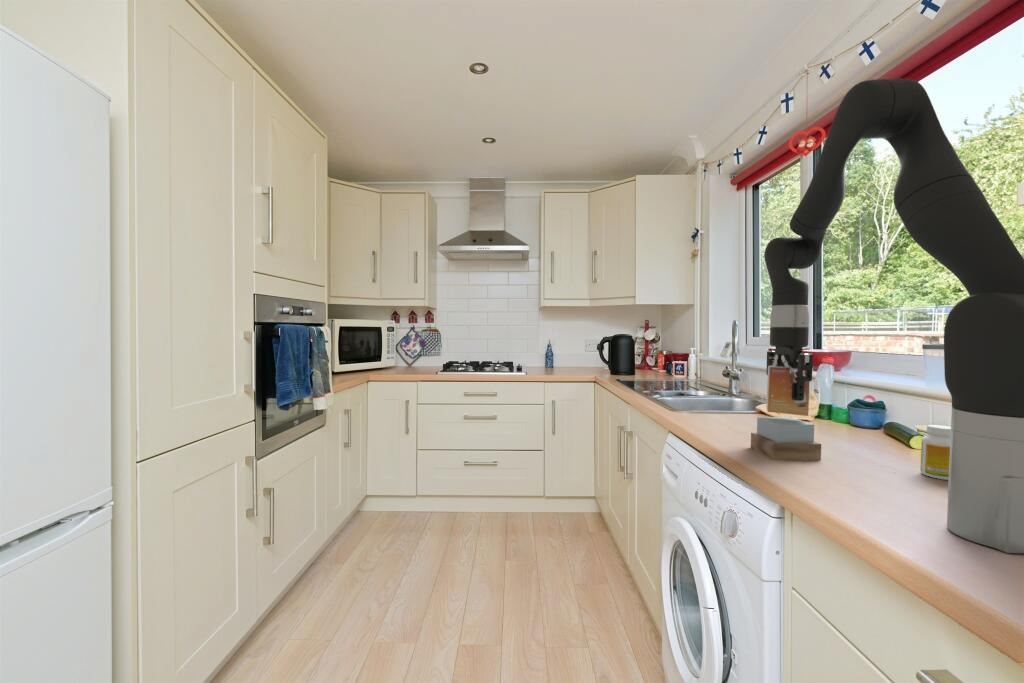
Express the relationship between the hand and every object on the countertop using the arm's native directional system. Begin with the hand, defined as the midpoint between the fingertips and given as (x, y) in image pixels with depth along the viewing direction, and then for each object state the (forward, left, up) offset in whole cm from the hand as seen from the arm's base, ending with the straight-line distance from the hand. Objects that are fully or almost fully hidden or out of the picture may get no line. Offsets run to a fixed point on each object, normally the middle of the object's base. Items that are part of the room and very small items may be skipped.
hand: (787, 397), depth 103 cm
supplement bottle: (-15, -21, -13) cm, 29 cm away
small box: (0, 0, -4) cm, 4 cm away
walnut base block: (0, +1, -13) cm, 13 cm away
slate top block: (-1, +1, -9) cm, 9 cm away
